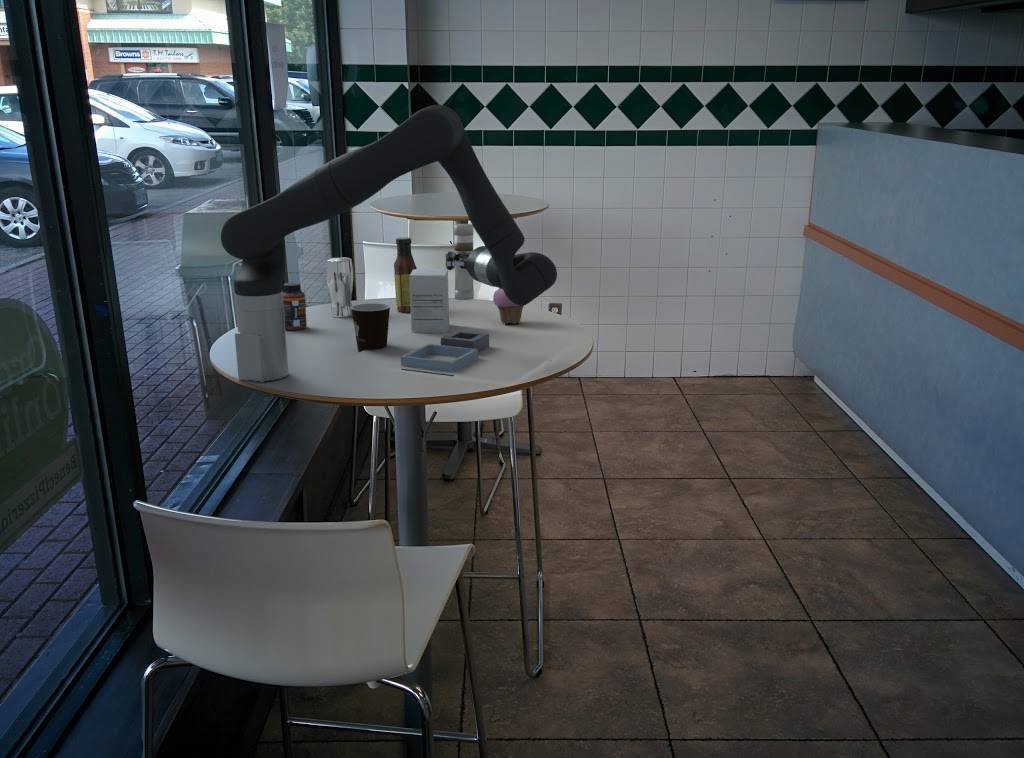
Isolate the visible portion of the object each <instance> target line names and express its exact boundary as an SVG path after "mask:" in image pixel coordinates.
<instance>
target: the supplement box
mask: <svg viewBox="0 0 1024 758" xmlns="http://www.w3.org/2000/svg"><path fill="white" fill-rule="evenodd" d="M409 277H410V307H411V312H410V330H411V331H410V332H411V333H418V334H419V333H448V331H449V329H450V306H449V305H450V302H449V301H450V299H449V298H450V297H449V270H448V269H447V268H446V269H427V268H426V269H425V268H424V269H421V268H417V269H415V270H413V271H412V272H411V274H410V276H409Z"/></svg>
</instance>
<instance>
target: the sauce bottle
mask: <svg viewBox="0 0 1024 758" xmlns="http://www.w3.org/2000/svg"><path fill="white" fill-rule="evenodd" d="M395 244H396V250H397V252H396V253H397V256H396V259H395V261H394V262H393V268H394V269H393V270H394V271H393V272H394V274H393V275H394V276H393V277H394V289H395V302H396V303H395V304H396V309H397V312H399V313H406V312H408V313H411V307H410V277H409V276H410V274H411V272H412V271H413V270H415V269H418V268H417V265H416V263H415V260H414V257H413V254H412V245H411V244H412V238H411V237H409V236H408V237H407V236H406V237H402V236H401V237H396V238H395Z"/></svg>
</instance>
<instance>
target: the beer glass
mask: <svg viewBox="0 0 1024 758" xmlns="http://www.w3.org/2000/svg"><path fill="white" fill-rule="evenodd" d="M325 261H326V265H325V266H326V268H325V270H326V272H325V273H326V284H327V288H328V293H329V296H330V303H331V306H330V317H332V318H338V317H343V318H349V316H350V317H352V312H351V307H352V306H353V305H352V296H353V295H352V294H353V287H354V269H353V268H354V267H353V261H352V258H350V257H339V256H338V257H330V258H327V259H326V260H325Z"/></svg>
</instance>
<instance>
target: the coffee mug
mask: <svg viewBox="0 0 1024 758" xmlns="http://www.w3.org/2000/svg"><path fill="white" fill-rule="evenodd" d="M390 311H391V306H390V305H389V304H385V303H378V302H377V303H376V302H375V303H372V302H370V303H360V304H359V303H358V304H354V305H352V307H351V312H352V316H351V317H352V322H353V329H354V335H355V341H356V347H357V351H358V353H361V352H363V351H375V350H376V351H377V350H382V349H385V348H387V347H388V337H389V336H388V334H389V326H390V325H389V324H390Z"/></svg>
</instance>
